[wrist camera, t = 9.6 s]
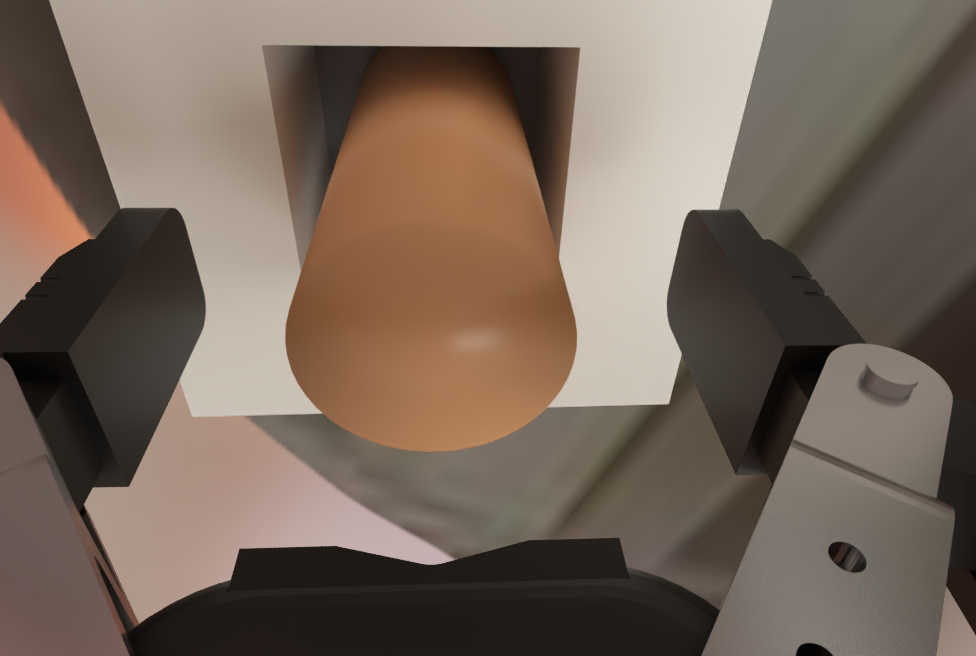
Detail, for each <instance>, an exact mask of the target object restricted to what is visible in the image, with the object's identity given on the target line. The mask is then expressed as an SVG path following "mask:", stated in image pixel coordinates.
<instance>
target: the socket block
mask: <svg viewBox="0 0 976 656" xmlns="http://www.w3.org/2000/svg"><path fill="white" fill-rule="evenodd" d="M49 1H50V4H51V7H52V10H53V13H54V16H55V19H56V22H57V25H58V28H59V31H60V33H61V36H62V39H63V42H64V45H65V48H66V51H67V54H68V57H69V60H70V63H71V65H72V68H73V71H74V74H75V77H76V80H77V83H78V86H79V89H80V92H81V95H82V97H83V100H84V103H85V106H86V109H87V112H88V115H89V118H90V121H91V124H92V127H93V130H94V132H95V135H96V138H97V141H98V144H99V147H100V150H101V153H102V156H103V159H104V162H105V164H106V167H107V170H108V173H109V176H110V179H111V182H112V185H113V188H114V191H115V194H116V196H117V199H118V202H119V205H120V208H121V209H122V208H175V209H177V210H178V211H179V212H180V213H181V215H182V217H183V219H184V222H185V225H186V228H187V232H188V236H189V239H190V243H191V247H192V250H193V254H194V257H195V261H196V265H197V268H198V272H199V276H200V279H201V283H202V286H203V290H204V294H205V302H206V316H205V323H204V327H203V330H202V333H201V335H200V337H199V339H198V341H197V343H196V345H195V348H194V350H193V352H192V354H191V356H190V358H189V360H188V362H187V364H186V367H185V369H184V371H183V373H182V375H181V377H180V379H179V380H180V383H181V386H182V388H183V391H184V394H185V397H186V400H187V403H188V406H189V409H190V412H191V415H192V417H210V416H248V415H285V414H322V412H321V411H320V410H318V409H317V408H316V407H315V406H314V404H313V403H312V402H311V401H310V400H309V399H308V398H307V397H306V395H305V394H304V392H303V391H302V389H301V388H300V386H299V385H298V383H297V381H296V379H295V377H294V375H293V373H292V370H291V367H290V364H289V361H288V357H287V352H286V344H285V329H286V321H287V317H288V312H289V308H290V305H291V302H292V299H293V296H294V292H295V289H296V286H297V283H298V280H299V277H300V274H301V270H302V267H303V264H304V261H305V258H306V255H307V251H308V248H309V245H310V242H311V239H312V236H313V233H314V229H315V226H316V223H317V220H318V217H319V214H320V211H321V207H322V204H323V201H324V198H325V195H326V192H327V188H328V185H329V182H330V179H331V176H332V173H333V170H334V166H335V163H336V160H337V157H338V154H339V151H340V148H341V144H342V141H343V138H344V135H345V132H346V129H347V125H348V122H349V119H350V116H351V113H352V110H353V107H354V103H355V100H356V97H357V94H358V91H359V88H360V85H361V81H362V78H363V76H364V73H365V71H366V69H367V67H368V65H369V63H370V61H371V60H372V59H373V57H374V56H375V55H376V53H377V52H378V51H379V50H380V49H381V48H382V47H383V46H460V47H488V48H489V49H490V50H491V51H492V52H493V53H494V54H495V55H496V57H497V58H498V59H499V60H500V62H501V63H502V65H503V67H504V68H505V70H506V72H507V75H508V77H509V79H510V82H511V86H512V89H513V93H514V97H515V100H516V104H517V108H518V111H519V115H520V118H521V122H522V126H523V129H524V133H525V137H526V140H527V144H528V148H529V151H530V155H531V159H532V162H533V166H534V170H535V173H536V177H537V181H538V184H539V188H540V192H541V195H542V199H543V203H544V206H545V210H546V214H547V217H548V221H549V225H550V228H551V232H552V236H553V239H554V243H555V247H556V250H557V254H558V258H559V261H560V265H561V269H562V272H563V276H564V279H565V283H566V287H567V290H568V294H569V298H570V301H571V305H572V309H573V312H574V316H575V321H576V328H577V349H576V354H575V359H574V364H573V366H572V369H571V372H570V374H569V377H568V379H567V381H566V382H565V384H564V386H563V388H562V390H561V391H560V392H559V394H558V395H557V396H556V398H555V399H554V400H553V402H552V403H551V404H550V405H549V406H548V407H580V406H617V405H654V404H669V401H670V397H671V394H672V390H673V386H674V382H675V378H676V374H677V370H678V366H679V362H680V359H681V355H682V353H681V351H680V349H679V346H678V344H677V342H676V340H675V337H674V335H673V333H672V331H671V328H670V326H669V322H668V317H667V294H668V288H669V284H670V280H671V275H672V271H673V267H674V262H675V258H676V254H677V249H678V245H679V241H680V236H681V232H682V228H683V224H684V221H685V218H686V216H687V214H688V213H689V212H690V211H691V210H719V207H720V203H721V199H722V195H723V191H724V187H725V183H726V179H727V176H728V172H729V168H730V164H731V160H732V156H733V152H734V148H735V144H736V140H737V137H738V133H739V129H740V125H741V121H742V117H743V113H744V109H745V105H746V102H747V98H748V94H749V90H750V86H751V82H752V78H753V74H754V70H755V67H756V63H757V59H758V55H759V51H760V47H761V43H762V39H763V35H764V31H765V28H766V24H767V20H768V16H769V12H770V8H771V4H772V0H49Z"/></svg>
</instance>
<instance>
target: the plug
mask: <svg viewBox="0 0 976 656" xmlns="http://www.w3.org/2000/svg"><path fill="white" fill-rule="evenodd" d="M285 344H286V352H287V357H288V361H289V364H290V367H291V370H292V373H293V375H294V377H295V379H296V381H297V383H298V385H299V386H300V388H301V389H302V391H303V392H304V394H305V395H306V397H307V398H308V399H309V400H310V401H311V402H312V403H313V404H314V406H315V407H316V408H317V409H318V410H320V411H321V412H322V413H323V414H324V415H325V416H326V417H328V418H329V419H330V420H332V421H333V422H334V423H336V424H337V425H339V426H340V427H342V428H344V429H345V430H347V431H349V432H351V433H353V434H355V435H357V436H359V437H362V438H364V439H366V440H369V441H371V442H374V443H378V444H381V445H385V446H388V447H393V448H398V449H403V450H411V451H421V452H441V451H454V450H460V449H466V448H472V447H475V446H479V445H483V444H487V443H489V442H492V441H495V440H497V439H500V438H503V437H505V436H507V435H509V434H511V433H513V432H515V431H517V430H518V429H520V428H521V427H523V426H525V425H526V424H528V423H529V422H531V421H532V420H533V419H534V418H536V417H537V416H538V415H539V414H541V413H542V412H543V411H544V410H545V409H546V408H547V407H548V406H549V405H550V404H551V403H552V402H553V400H554V399H555V398H556V396H557V395H558V394H559V392H560V391H561V390H562V388H563V386H564V384H565V382H566V381H567V379H568V377H569V374H570V372H571V369H572V366H573V364H574V359H575V354H576V349H577V328H576V321H575V316H574V312H573V309H572V305H571V301H570V298H569V294H568V290H567V287H566V283H565V279H564V276H563V272H562V269H561V265H560V261H559V258H558V254H557V250H556V247H555V243H554V239H553V236H552V232H551V228H550V225H549V221H548V217H547V214H546V210H545V206H544V203H543V199H542V195H541V192H540V188H539V184H538V181H537V177H536V173H535V170H534V166H533V162H532V159H531V155H530V151H529V148H528V144H527V140H526V137H525V133H524V129H523V126H522V122H521V118H520V115H519V111H518V108H517V104H516V100H515V97H514V93H513V89H512V86H511V82H510V79H509V77H508V75H507V72H506V70H505V68H504V67H503V65H502V63H501V62H500V60H499V59H498V58H497V57H496V55H495V54H494V53H493V52H492V51H491V50H490V49H489V48H488V47H460V46H383V47H382V48H381V49H380V50H379V51H378V52H377V53H376V55H375V56H374V57H373V59H372V60H371V61H370V63H369V65H368V67H367V69H366V71H365V73H364V76H363V78H362V81H361V85H360V88H359V91H358V94H357V97H356V100H355V103H354V107H353V110H352V113H351V116H350V119H349V122H348V125H347V129H346V132H345V135H344V138H343V141H342V144H341V148H340V151H339V154H338V157H337V160H336V163H335V166H334V170H333V173H332V176H331V179H330V182H329V185H328V188H327V192H326V195H325V198H324V201H323V204H322V207H321V211H320V214H319V217H318V220H317V223H316V226H315V229H314V233H313V236H312V239H311V242H310V245H309V248H308V251H307V255H306V258H305V261H304V264H303V267H302V270H301V274H300V277H299V280H298V283H297V286H296V289H295V292H294V296H293V299H292V302H291V305H290V308H289V312H288V317H287V321H286V329H285Z"/></svg>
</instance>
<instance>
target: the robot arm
mask: <svg viewBox="0 0 976 656" xmlns="http://www.w3.org/2000/svg"><path fill="white" fill-rule="evenodd" d="M811 277H812V275H811V274H810V273H809V272H808V270H807V269H806V268H805V267H804V266H803V264H802V263H801V262H800V261H799V259H798V258H797V257H796V256H795V255H793V254H792V253H790V252H789V251H787V250H785V249H784V248H782V247H781V246H779V245H778V244H776V243H774V242H773V241H771V240H763V239H762V238H761V236H760V235H759V234H758V232H757V231H756V230H755V229H754V227H753V226H752V225H751V223H750V222H749V221H748V219H747V218H746V217H745V215H744V214H743V213H742V212H741V211H740V210H691V211H690V212H689V213H688V214H687V216H686V218H685V221H684V224H683V228H682V232H681V236H680V241H679V245H678V249H677V254H676V258H675V262H674V267H673V271H672V275H671V280H670V284H669V288H668V294H667V317H668V322H669V326H670V328H671V331H672V333H673V335H674V337H675V340H676V342H677V344H678V346H679V349H680V351H681V353H682V355H683V358H684V360H685V362H686V364H687V366H688V369H689V371H690V373H691V375H692V378H693V380H694V382H695V384H696V387H697V389H698V391H699V393H700V396H701V398H702V400H703V402H704V404H705V407H706V409H707V411H708V413H709V416H710V418H711V420H712V422H713V425H714V427H715V429H716V431H717V433H718V436H719V438H720V440H721V442H722V445H723V447H724V449H725V451H726V454H727V456H728V458H729V460H730V463H731V465H732V467H733V469H734V471H735V474H736V475H746V474H768V476H769V478H770V480H771V482H772V486H771V489H770V491H769V493H768V495H767V498H766V500H765V502H764V505H763V507H762V509H761V512H760V514H759V516H758V519H757V521H756V523H755V526H754V528H753V530H752V533H751V535H750V537H749V540H748V542H747V544H746V547H745V549H744V551H743V554H742V556H741V558H740V561H739V563H738V565H737V568H736V570H735V572H734V575H733V577H732V579H731V582H730V584H729V586H728V589H727V591H726V593H725V596H724V598H723V600H722V602H721V605H720V607H719V609H717V608H716V607H714V606H713V605H712V604H710V603H709V602H707V601H706V600H705V599H703V598H701V597H699V596H698V595H696V594H694V593H692V592H691V591H689V590H687V589H685V588H684V587H682V586H679V585H677V584H675V583H673V582H670V581H668V580H666V579H664V578H661V577H659V576H656V575H652V574H649V573H646V572H643V571H640V570H636V569H632V568H627V567H626V563H625V559H624V555H623V551H622V547H621V543H620V539H619V538H598V539H564V540H529V541H525V542H521V543H517V544H513V545H510V546H506V547H502V548H499V549H495V550H491V551H487V552H484V553H480V554H476V555H472V556H469V557H465V558H461V559H457V560H454V561H450V562H446V563H442V564H437V565H426V564H419V563H415V562H410V561H405V560H400V559H394V558H390V557H385V556H381V555H376V554H370V553H366V552H361V551H357V550H352V549H347V548H342V547H337V546H321V547H288V548H251V549H239V553H238V557H237V560H236V564H235V567H234V571H233V575H232V578H231V580H230V581H226V582H223V583H219V584H216V585H213V586H211V587H208V588H205V589H203V590H200V591H197V592H195V593H193V594H191V595H189V596H187V597H184V598H182V599H180V600H178V601H176V602H174V603H172V604H170V605H169V606H167V607H165V608H163V609H162V610H160V611H158V612H157V613H155V614H153V615H152V616H150V617H148V618H147V619H145V620H144V621H143V622H141V623H140V624H139V622H138V620H137V618H136V616H135V614H134V612H133V610H132V607H131V606H130V603H129V601H128V599H127V596H126V594H125V592H124V590H123V588H122V585H121V583H120V581H119V579H118V576H117V574H116V572H115V570H114V568H113V566H112V563H111V561H110V559H109V557H108V554H107V552H106V550H105V548H104V545H103V543H102V541H101V539H100V537H99V535H98V532H97V530H96V528H95V526H94V523H93V521H92V519H91V517H90V515H89V513H88V511H87V509H86V507H85V505H84V503H85V501H86V499H87V497H88V495H89V494H90V492H91V490H92V488H93V487H128V486H129V485H130V483H131V481H132V479H133V477H134V475H135V473H136V470H137V468H138V466H139V464H140V462H141V460H142V458H143V455H144V454H145V451H146V449H147V447H148V445H149V443H150V441H151V439H152V437H153V434H154V432H155V430H156V428H157V426H158V424H159V422H160V419H161V418H162V415H163V413H164V411H165V409H166V407H167V405H168V403H169V401H170V398H171V396H172V394H173V392H174V390H175V388H176V386H177V383H178V381H179V379H180V377H181V375H182V373H183V371H184V369H185V367H186V364H187V362H188V360H189V358H190V356H191V354H192V352H193V350H194V348H195V345H196V343H197V341H198V339H199V337H200V335H201V333H202V330H203V327H204V323H205V316H206V302H205V294H204V290H203V286H202V283H201V279H200V276H199V272H198V268H197V265H196V261H195V257H194V254H193V250H192V247H191V243H190V239H189V236H188V232H187V228H186V225H185V222H184V219H183V217H182V215H181V213H180V212H179V211H178V210H177V209H175V208H122V209H120V210H119V211H118V212H117V213H116V215H115V216H114V217H113V218H112V219H111V221H110V222H109V223H108V224H107V226H106V227H105V228H104V229H103V230H102V232H101V233H100V234H99V235H98V236H97V238H96V239H88V240H87V241H85V242H83V243H82V244H80V245H78V246H77V247H75V248H73V249H72V250H70V251H68V252H67V253H65V254H63V255H62V256H60V257H58V259H57V260H56V261H55V262H54V263H53V264H52V265H51V267H50V268H49V269H48V270H47V271H46V272H45V273H44V274H43V276H42V277H41V282H36V284H35V285H34V286H33V287H32V288H31V289H30V290H29V292H28V293H27V294H26V299H25V300H21V301H20V302H19V303H18V304H17V305H16V306H15V307H14V309H13V310H12V311H11V312H10V313H9V314H8V315H7V317H6V318H5V319H4V320H3V321H2V322H1V323H0V656H936V654H937V647H938V640H939V632H940V625H941V618H942V610H943V603H944V595H945V589H946V586H947V588H948V589H949V591H950V592H951V594H952V596H953V598H954V599H955V601H956V603H957V604H958V606H959V608H960V610H961V611H962V613H963V614H964V616H965V618H966V620H967V621H968V623H969V625H970V626H971V628H972V630H973V631H974V633H975V635H976V402H975V401H970V400H965V399H960V398H955V397H953V396H952V393H951V390H950V388H949V386H948V385H947V383H946V382H945V381H944V380H943V378H942V377H941V376H940V375H939V374H938V373H937V372H935V371H934V370H933V369H932V368H930V367H929V366H928V365H926V364H925V363H923V362H921V361H920V360H918V359H916V358H914V357H912V356H910V355H908V354H905V353H903V352H900V351H898V350H895V349H891V348H888V347H884V346H879V345H873V344H867V343H866V342H865V341H864V340H863V338H862V337H861V336H860V335H859V333H858V332H857V331H856V330H855V328H854V327H853V326H852V325H851V324H850V322H849V321H848V320H847V319H846V317H845V316H844V315H843V314H842V312H841V311H840V310H839V309H838V307H837V306H836V305H835V304H834V303H833V301H832V300H831V299H830V298H829V296H825V295H824V293H825V291H824V290H823V289H822V288H821V287H820V285H819V284H818V283H817V282H816V280H812V279H811Z"/></svg>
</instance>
